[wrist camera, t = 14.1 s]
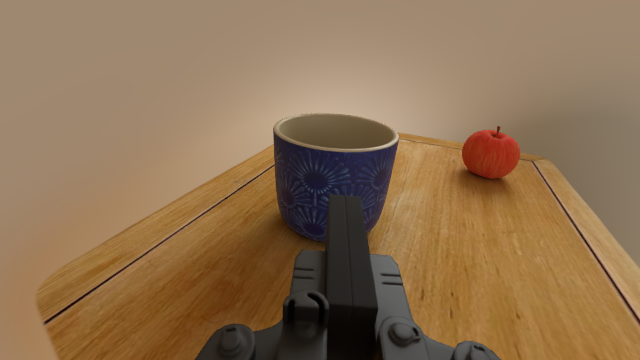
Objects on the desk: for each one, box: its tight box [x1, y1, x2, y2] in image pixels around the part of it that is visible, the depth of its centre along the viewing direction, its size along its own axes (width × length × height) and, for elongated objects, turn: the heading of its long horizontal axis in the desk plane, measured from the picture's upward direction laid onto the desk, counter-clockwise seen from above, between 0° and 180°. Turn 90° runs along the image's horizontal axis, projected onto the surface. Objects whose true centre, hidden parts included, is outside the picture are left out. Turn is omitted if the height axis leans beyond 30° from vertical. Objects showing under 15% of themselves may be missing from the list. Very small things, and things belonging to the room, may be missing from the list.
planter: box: [273, 113, 399, 242], centre depth 33 cm, size 12×12×11 cm
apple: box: [462, 126, 520, 178], centre depth 49 cm, size 8×8×8 cm
